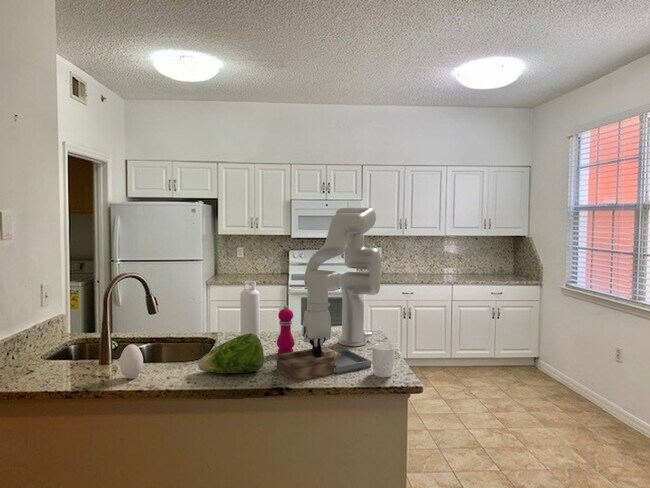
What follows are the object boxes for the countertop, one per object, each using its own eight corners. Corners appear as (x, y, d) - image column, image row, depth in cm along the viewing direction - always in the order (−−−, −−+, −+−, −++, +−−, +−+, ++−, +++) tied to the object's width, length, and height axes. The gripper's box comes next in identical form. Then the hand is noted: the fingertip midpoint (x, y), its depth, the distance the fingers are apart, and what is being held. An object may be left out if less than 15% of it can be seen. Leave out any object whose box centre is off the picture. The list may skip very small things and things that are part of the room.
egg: (124, 374, 158) (123, 341, 157) (146, 374, 159) (145, 341, 158) (116, 382, 151) (115, 347, 150) (139, 382, 151) (138, 347, 151)
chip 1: (327, 354, 171) (328, 348, 171) (334, 358, 167) (334, 351, 167) (317, 355, 168) (318, 349, 168) (324, 359, 165) (324, 352, 164)
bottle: (237, 348, 190) (237, 282, 188) (244, 343, 198) (244, 279, 196) (255, 350, 188) (255, 283, 186) (262, 344, 196) (262, 280, 194)
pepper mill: (293, 356, 180) (293, 307, 179) (275, 356, 180) (275, 306, 179) (295, 351, 187) (295, 303, 186) (277, 350, 188) (278, 303, 186)
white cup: (367, 371, 164) (368, 344, 163) (386, 369, 167) (387, 342, 166) (378, 379, 156) (379, 351, 156) (398, 376, 160) (398, 348, 159)
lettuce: (204, 379, 167) (197, 343, 167) (266, 363, 170) (259, 329, 171) (198, 388, 153) (190, 349, 153) (267, 371, 156) (259, 333, 157)
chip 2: (325, 361, 170) (330, 362, 172) (332, 364, 167) (337, 366, 168) (329, 349, 171) (334, 351, 172) (336, 352, 167) (341, 354, 168)
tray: (347, 355, 183) (347, 349, 182) (370, 367, 169) (370, 360, 169) (313, 361, 175) (313, 355, 174) (336, 374, 161) (336, 367, 161)
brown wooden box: (314, 362, 174) (314, 347, 173) (333, 373, 162) (334, 357, 161) (276, 369, 165) (276, 353, 165) (293, 381, 153) (294, 364, 153)
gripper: (329, 303, 172) (328, 351, 173) (294, 307, 164) (293, 356, 165) (340, 307, 165) (339, 356, 166) (304, 310, 157) (303, 362, 159)
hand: (316, 356), depth 166 cm, fingers closed
